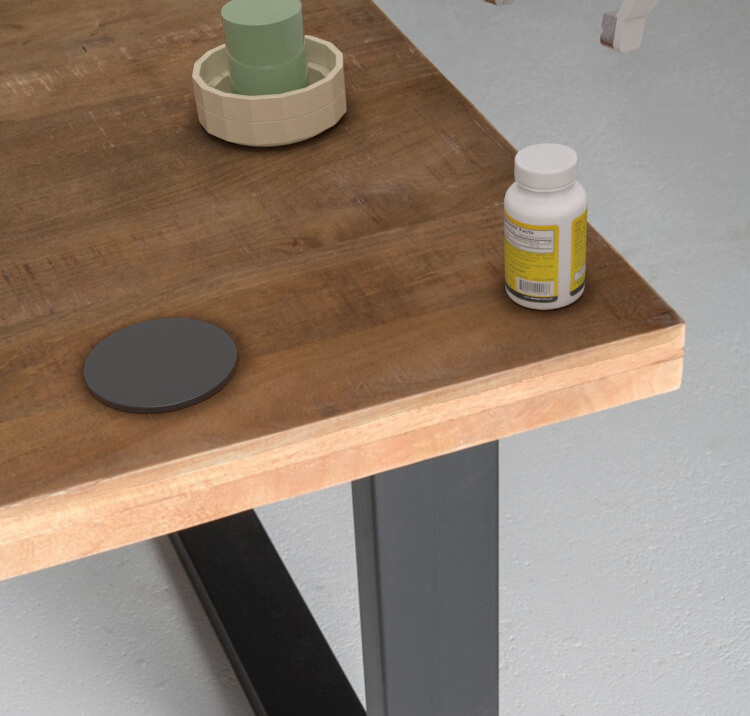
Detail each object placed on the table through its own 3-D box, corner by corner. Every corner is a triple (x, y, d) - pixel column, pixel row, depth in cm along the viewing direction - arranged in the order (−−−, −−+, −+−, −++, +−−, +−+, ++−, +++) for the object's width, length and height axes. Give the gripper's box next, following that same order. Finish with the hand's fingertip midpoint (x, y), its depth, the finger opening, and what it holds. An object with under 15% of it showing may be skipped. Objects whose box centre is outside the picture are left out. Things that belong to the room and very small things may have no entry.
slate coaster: (108, 430, 87) (106, 424, 87) (68, 349, 94) (66, 342, 94) (259, 385, 90) (258, 379, 90) (210, 308, 97) (208, 302, 96)
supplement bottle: (562, 261, 98) (567, 130, 92) (598, 300, 95) (605, 166, 88) (491, 280, 97) (490, 148, 90) (524, 320, 93) (526, 185, 87)
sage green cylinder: (249, 134, 114) (236, 31, 108) (224, 104, 118) (209, 2, 113) (323, 116, 116) (313, 13, 110) (295, 86, 120) (284, -14, 114)
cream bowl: (228, 165, 112) (220, 111, 109) (182, 105, 120) (173, 53, 117) (370, 129, 115) (366, 75, 112) (315, 73, 123) (310, 21, 120)
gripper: (402, -288, 74) (390, -14, 83) (708, -222, 62) (657, 89, 71) (488, -295, 77) (468, -32, 86) (794, -234, 66) (736, 65, 74)
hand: (556, 24), depth 78 cm, fingers open, 8 cm apart
